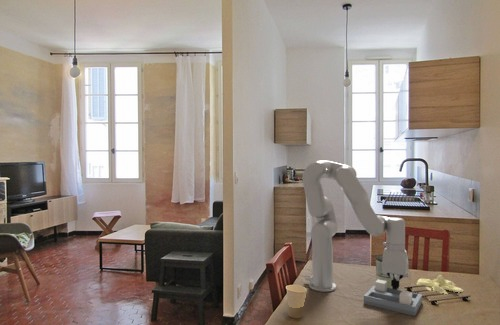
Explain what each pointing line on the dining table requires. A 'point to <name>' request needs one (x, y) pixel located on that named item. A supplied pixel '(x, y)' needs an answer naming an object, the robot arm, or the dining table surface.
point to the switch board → (392, 300)
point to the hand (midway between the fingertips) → (395, 288)
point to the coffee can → (380, 274)
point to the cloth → (439, 285)
